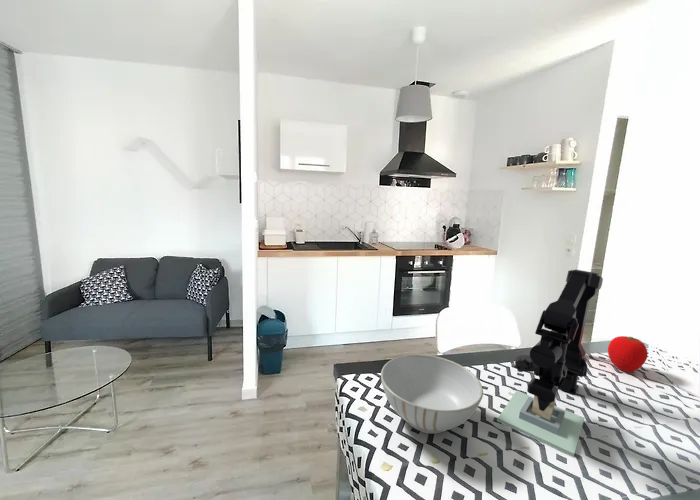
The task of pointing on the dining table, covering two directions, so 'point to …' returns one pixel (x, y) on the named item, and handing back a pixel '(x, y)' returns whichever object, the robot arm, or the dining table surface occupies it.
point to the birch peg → (547, 412)
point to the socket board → (543, 423)
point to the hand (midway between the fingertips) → (543, 406)
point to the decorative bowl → (431, 391)
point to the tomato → (627, 353)
